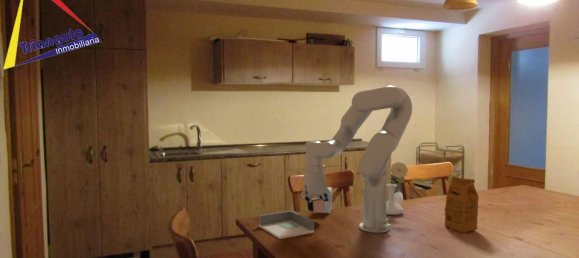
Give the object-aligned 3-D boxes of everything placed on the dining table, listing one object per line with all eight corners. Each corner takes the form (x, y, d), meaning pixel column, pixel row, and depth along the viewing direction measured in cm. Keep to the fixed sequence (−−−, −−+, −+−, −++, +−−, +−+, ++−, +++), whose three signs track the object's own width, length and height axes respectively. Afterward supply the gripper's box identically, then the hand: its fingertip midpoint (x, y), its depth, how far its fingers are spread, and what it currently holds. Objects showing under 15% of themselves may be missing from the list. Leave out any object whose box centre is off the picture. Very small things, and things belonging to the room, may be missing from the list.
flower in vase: (377, 215, 189) (377, 162, 188) (381, 209, 200) (381, 159, 198) (405, 218, 184) (406, 164, 183) (408, 212, 195) (409, 160, 193)
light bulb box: (330, 213, 192) (330, 191, 191) (316, 213, 193) (316, 190, 193) (332, 208, 202) (332, 186, 202) (318, 207, 204) (319, 186, 203)
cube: (323, 211, 179) (323, 199, 179) (314, 212, 176) (314, 201, 176) (317, 208, 183) (317, 197, 183) (308, 210, 181) (307, 199, 181)
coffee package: (459, 223, 177) (460, 173, 175) (481, 232, 165) (482, 178, 163) (440, 225, 173) (441, 175, 172) (461, 234, 162) (462, 180, 160)
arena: (314, 232, 164) (314, 220, 164) (279, 239, 156) (279, 226, 156) (291, 221, 180) (291, 210, 179) (259, 226, 172) (259, 215, 171)
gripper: (325, 166, 186) (326, 205, 187) (293, 170, 178) (295, 210, 179) (335, 168, 180) (336, 208, 181) (302, 172, 172) (304, 214, 172)
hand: (316, 209), depth 180 cm, fingers closed on cube, 5 cm apart
